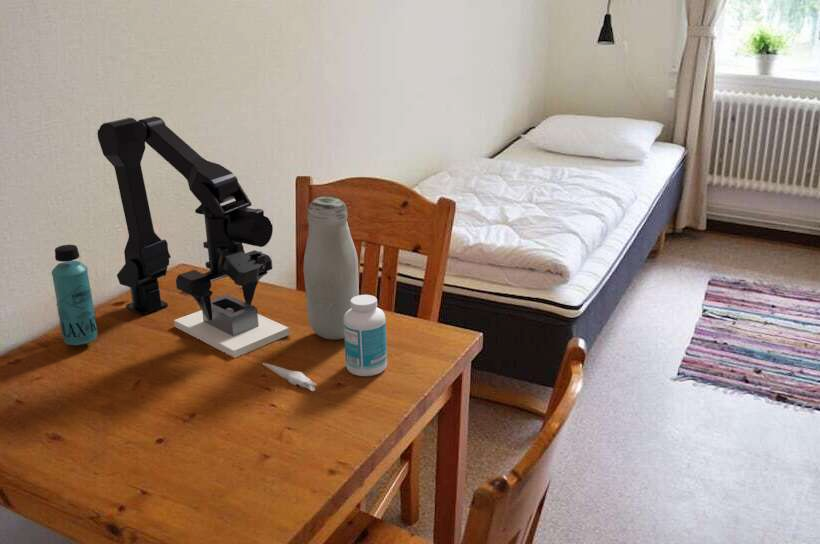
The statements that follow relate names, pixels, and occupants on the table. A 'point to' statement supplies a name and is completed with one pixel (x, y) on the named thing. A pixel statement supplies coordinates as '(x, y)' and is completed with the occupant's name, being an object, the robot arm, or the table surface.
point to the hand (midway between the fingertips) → (229, 312)
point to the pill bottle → (365, 337)
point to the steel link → (232, 315)
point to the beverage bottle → (73, 297)
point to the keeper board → (232, 344)
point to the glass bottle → (329, 267)
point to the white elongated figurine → (293, 377)
